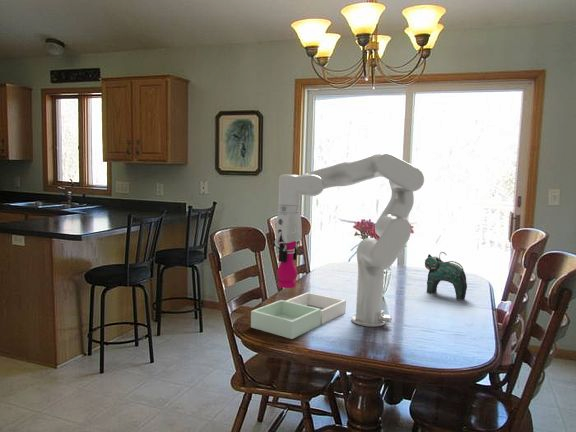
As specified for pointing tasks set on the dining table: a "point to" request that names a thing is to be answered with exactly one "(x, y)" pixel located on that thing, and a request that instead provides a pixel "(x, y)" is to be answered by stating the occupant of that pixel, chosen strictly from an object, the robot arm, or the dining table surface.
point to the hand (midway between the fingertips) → (287, 260)
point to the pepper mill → (287, 268)
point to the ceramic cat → (445, 275)
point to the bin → (285, 318)
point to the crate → (322, 305)
